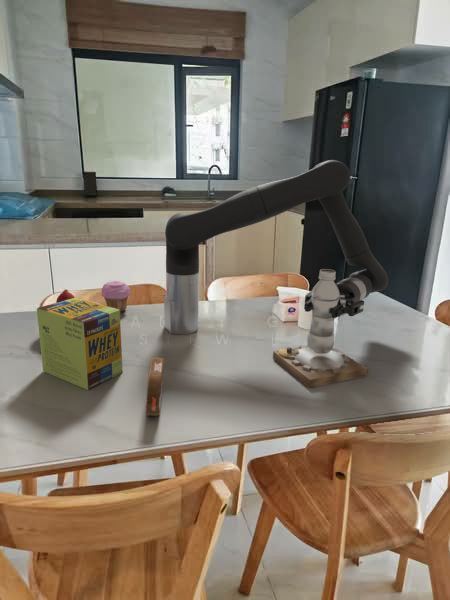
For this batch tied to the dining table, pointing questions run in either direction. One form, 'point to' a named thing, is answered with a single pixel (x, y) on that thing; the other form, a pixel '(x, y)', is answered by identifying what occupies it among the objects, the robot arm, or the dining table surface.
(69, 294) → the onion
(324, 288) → the plastic bottle
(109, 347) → the protein box
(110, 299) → the cupcake
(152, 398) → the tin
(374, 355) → the dining table surface
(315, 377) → the gear board
